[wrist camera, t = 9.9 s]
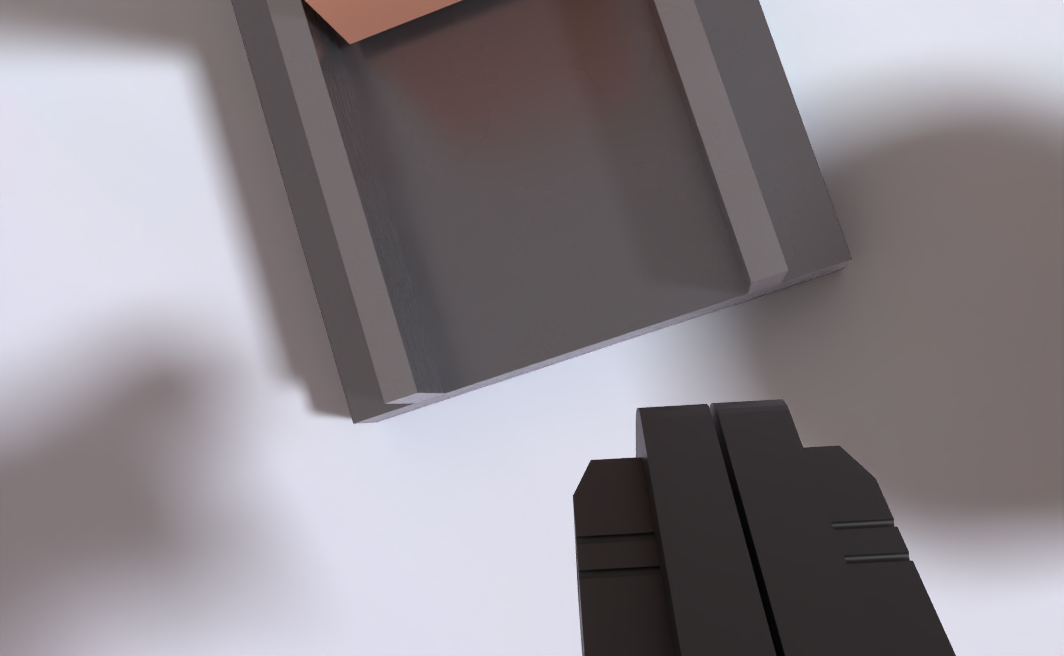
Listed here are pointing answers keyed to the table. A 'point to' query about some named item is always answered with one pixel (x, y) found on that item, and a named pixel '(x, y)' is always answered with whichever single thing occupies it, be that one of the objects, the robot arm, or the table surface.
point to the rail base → (533, 181)
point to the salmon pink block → (372, 14)
